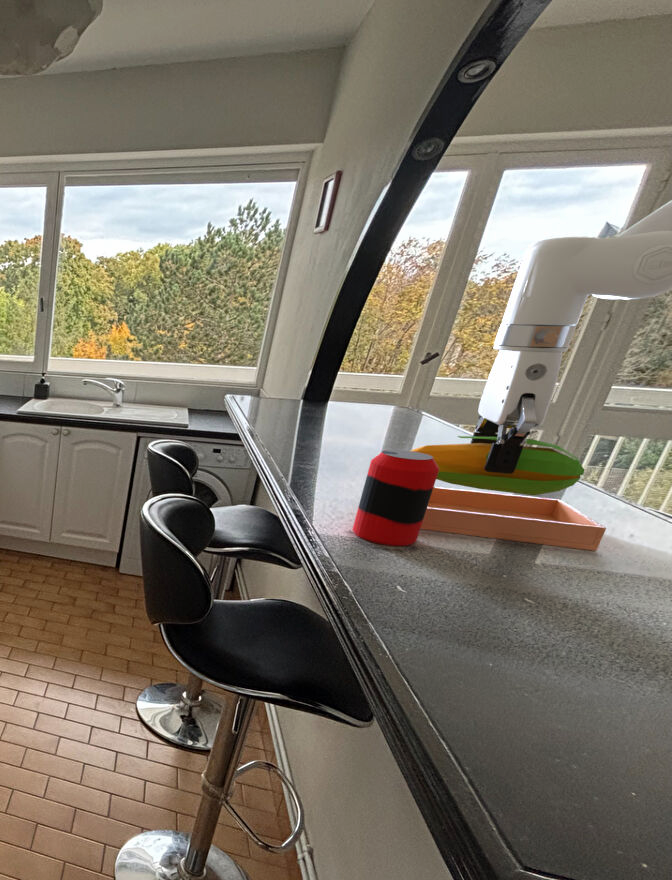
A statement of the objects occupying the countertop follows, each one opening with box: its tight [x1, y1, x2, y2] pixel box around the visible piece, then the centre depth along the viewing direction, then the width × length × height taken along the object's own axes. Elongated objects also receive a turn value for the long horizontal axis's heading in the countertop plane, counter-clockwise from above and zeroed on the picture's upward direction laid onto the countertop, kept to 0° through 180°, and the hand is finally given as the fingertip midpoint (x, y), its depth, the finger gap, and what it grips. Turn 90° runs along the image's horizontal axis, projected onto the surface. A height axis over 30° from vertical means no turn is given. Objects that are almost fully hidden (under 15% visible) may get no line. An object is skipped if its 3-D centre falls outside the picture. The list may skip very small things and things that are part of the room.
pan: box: [420, 486, 607, 552], centre depth 89 cm, size 24×14×3 cm, turn 65°
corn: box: [410, 435, 585, 496], centre depth 86 cm, size 7×8×20 cm
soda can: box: [352, 449, 439, 547], centre depth 82 cm, size 8×8×12 cm
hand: (488, 464), depth 86 cm, fingers closed on corn, 7 cm apart
